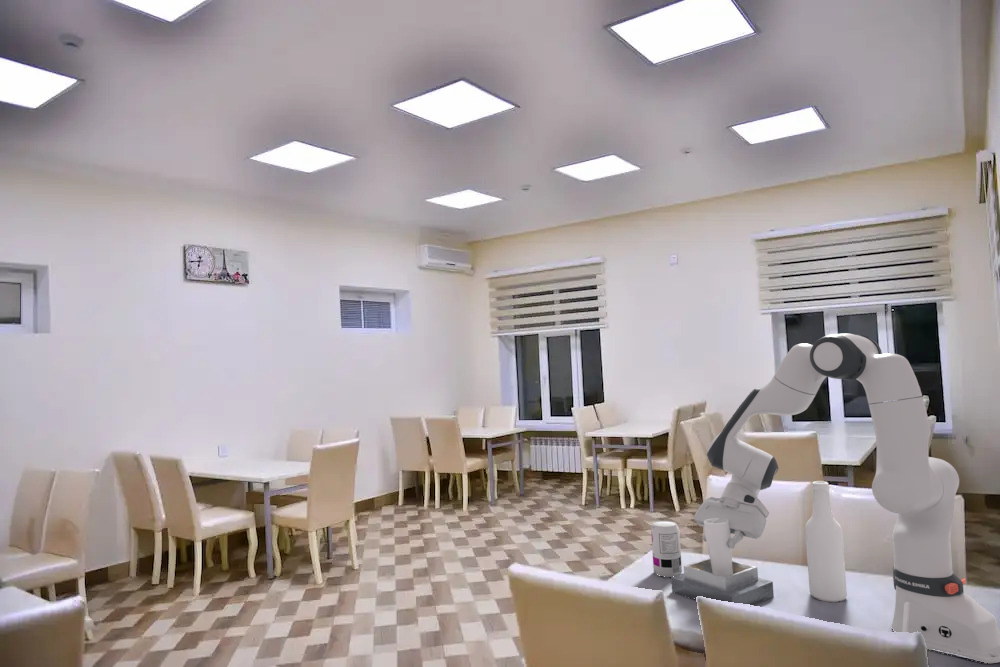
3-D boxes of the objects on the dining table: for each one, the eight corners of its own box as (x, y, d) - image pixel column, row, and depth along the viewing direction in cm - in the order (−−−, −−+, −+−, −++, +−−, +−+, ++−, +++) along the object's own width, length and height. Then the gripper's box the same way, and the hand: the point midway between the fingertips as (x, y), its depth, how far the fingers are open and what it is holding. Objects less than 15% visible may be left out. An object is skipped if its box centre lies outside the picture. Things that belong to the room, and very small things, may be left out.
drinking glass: (739, 579, 171) (732, 522, 173) (713, 581, 172) (706, 524, 173) (732, 572, 178) (725, 517, 179) (707, 574, 178) (700, 519, 180)
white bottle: (830, 605, 164) (821, 486, 165) (802, 594, 172) (794, 481, 174) (855, 598, 167) (846, 482, 169) (826, 588, 176) (818, 477, 177)
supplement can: (648, 575, 194) (645, 524, 194) (662, 567, 200) (659, 518, 200) (673, 580, 188) (670, 528, 189) (686, 572, 194) (683, 522, 195)
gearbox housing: (773, 596, 172) (771, 568, 172) (733, 613, 162) (731, 583, 162) (711, 578, 188) (710, 552, 189) (672, 592, 179) (670, 564, 179)
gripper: (701, 489, 189) (681, 529, 183) (763, 500, 172) (743, 544, 166) (712, 502, 191) (692, 542, 185) (775, 514, 174) (755, 558, 168)
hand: (717, 543), depth 175 cm, fingers closed on drinking glass, 6 cm apart
